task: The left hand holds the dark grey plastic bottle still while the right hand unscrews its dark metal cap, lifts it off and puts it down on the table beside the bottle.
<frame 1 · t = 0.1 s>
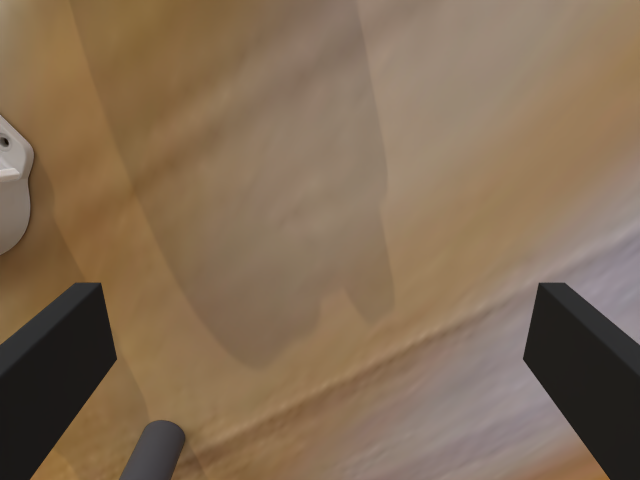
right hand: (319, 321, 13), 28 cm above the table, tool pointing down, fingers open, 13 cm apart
bottle: (164, 436, 51), on the table
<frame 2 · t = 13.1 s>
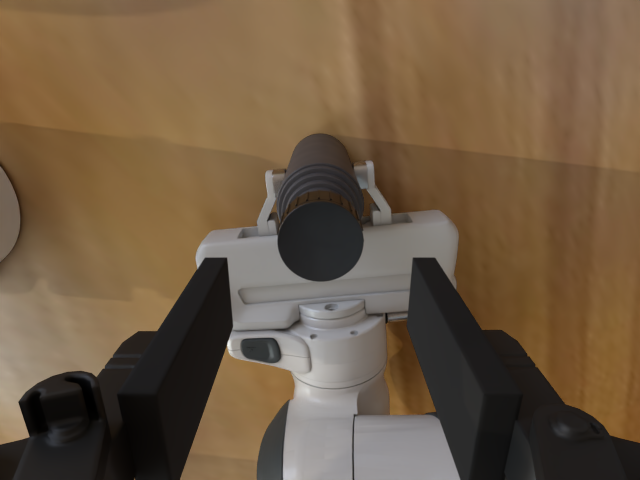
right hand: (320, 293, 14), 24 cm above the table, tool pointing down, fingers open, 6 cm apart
left hand: (318, 166, 31), fingers closed on bottle, 5 cm apart
cap: (320, 240, 19), point 19 cm above the table, screwed on, not yet turned
bottle: (320, 163, 37), on the table, touching left hand
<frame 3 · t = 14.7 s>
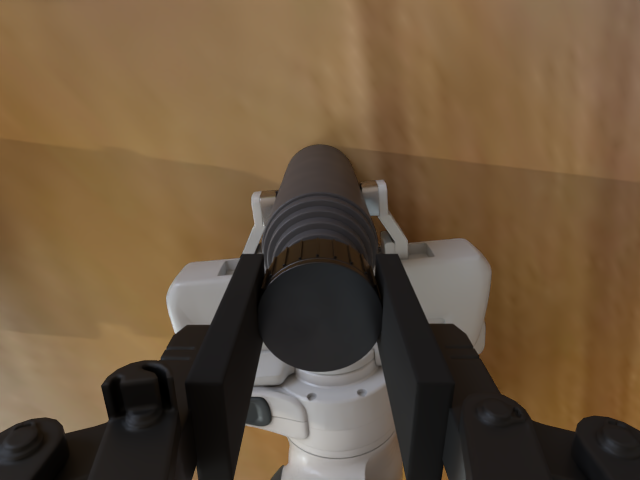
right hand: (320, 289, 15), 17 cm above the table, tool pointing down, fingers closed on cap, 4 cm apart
cap: (319, 315, 13), point 19 cm above the table, screwed on, not yet turned, touching right hand
bottle: (319, 179, 31), on the table, touching left hand
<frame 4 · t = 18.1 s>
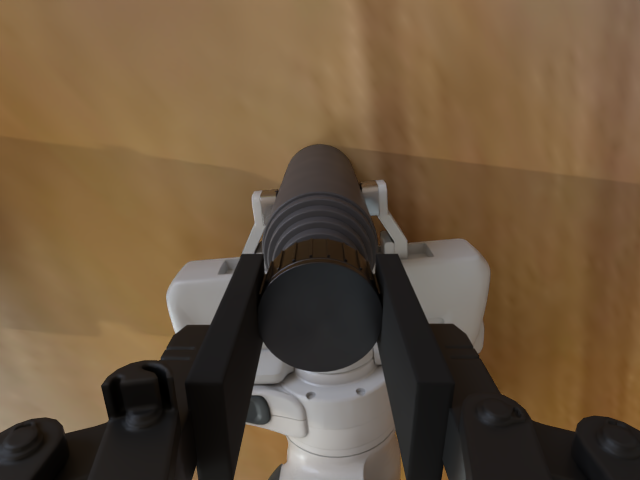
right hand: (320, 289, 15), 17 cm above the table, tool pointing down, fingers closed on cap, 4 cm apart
cap: (319, 315, 13), point 19 cm above the table, turned 100° so far, risen 0.1 cm, still on its thread, touching right hand
bottle: (319, 179, 31), on the table, touching left hand
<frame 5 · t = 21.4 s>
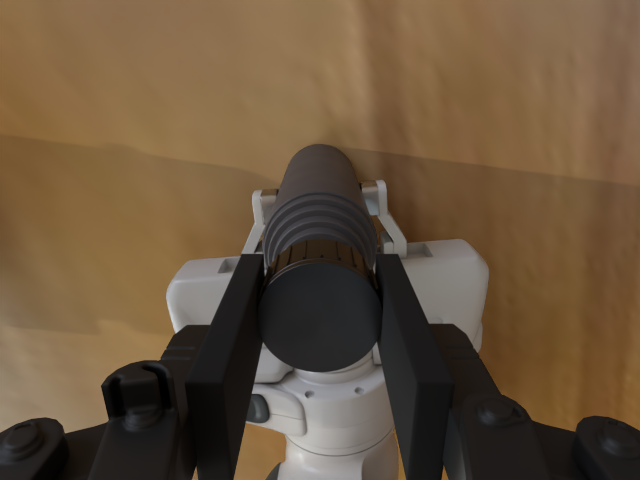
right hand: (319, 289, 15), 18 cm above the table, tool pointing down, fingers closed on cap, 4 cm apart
cap: (319, 315, 13), point 19 cm above the table, turned 200° so far, risen 0.2 cm, still on its thread, touching right hand
bottle: (319, 178, 31), on the table, touching left hand
when the right hand's fingers open (1 cm above the table, at t = 34.6 s): cap drops 1 cm, point 2 cm above the table.
when the left hand's fingers open (6 cm above the table, at t = 35.9 s): bottle stays where it is, on the table.
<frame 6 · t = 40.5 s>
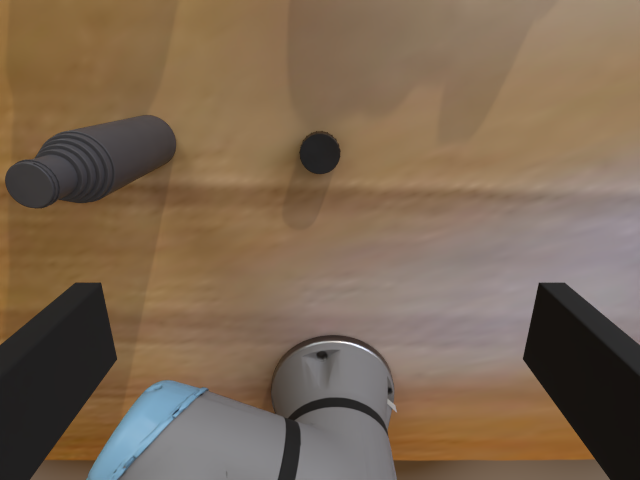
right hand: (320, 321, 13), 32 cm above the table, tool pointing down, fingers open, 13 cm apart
cap: (320, 153, 41), point 2 cm above the table, off its thread
bottle: (150, 141, 42), on the table
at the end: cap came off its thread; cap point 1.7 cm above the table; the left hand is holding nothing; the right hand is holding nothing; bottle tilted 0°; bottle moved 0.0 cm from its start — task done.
